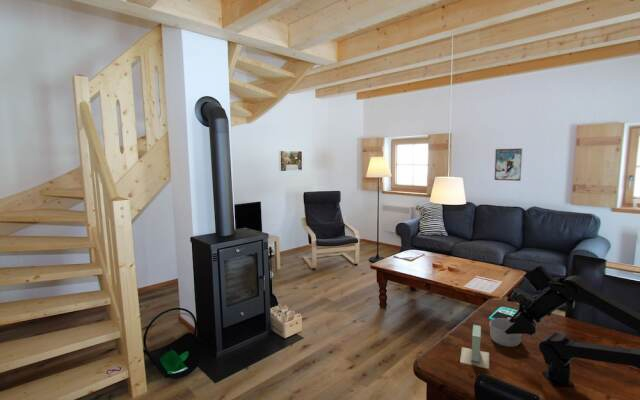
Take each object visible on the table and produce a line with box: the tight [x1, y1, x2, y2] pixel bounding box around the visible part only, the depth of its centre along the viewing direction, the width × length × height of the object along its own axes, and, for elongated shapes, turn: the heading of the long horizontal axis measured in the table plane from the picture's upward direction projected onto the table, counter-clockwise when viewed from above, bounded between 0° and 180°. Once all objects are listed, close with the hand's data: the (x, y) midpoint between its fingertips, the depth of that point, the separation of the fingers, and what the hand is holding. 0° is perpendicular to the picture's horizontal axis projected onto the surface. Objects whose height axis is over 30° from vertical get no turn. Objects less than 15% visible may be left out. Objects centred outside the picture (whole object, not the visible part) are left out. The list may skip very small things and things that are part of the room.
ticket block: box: [459, 346, 490, 370], centre depth 121 cm, size 9×10×2 cm
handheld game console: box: [488, 306, 519, 321], centre depth 152 cm, size 10×16×1 cm, turn 135°
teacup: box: [488, 317, 522, 348], centre depth 132 cm, size 14×11×8 cm
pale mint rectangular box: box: [471, 324, 482, 364], centre depth 120 cm, size 3×8×10 cm, turn 154°
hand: (507, 327), depth 118 cm, fingers open, 9 cm apart
